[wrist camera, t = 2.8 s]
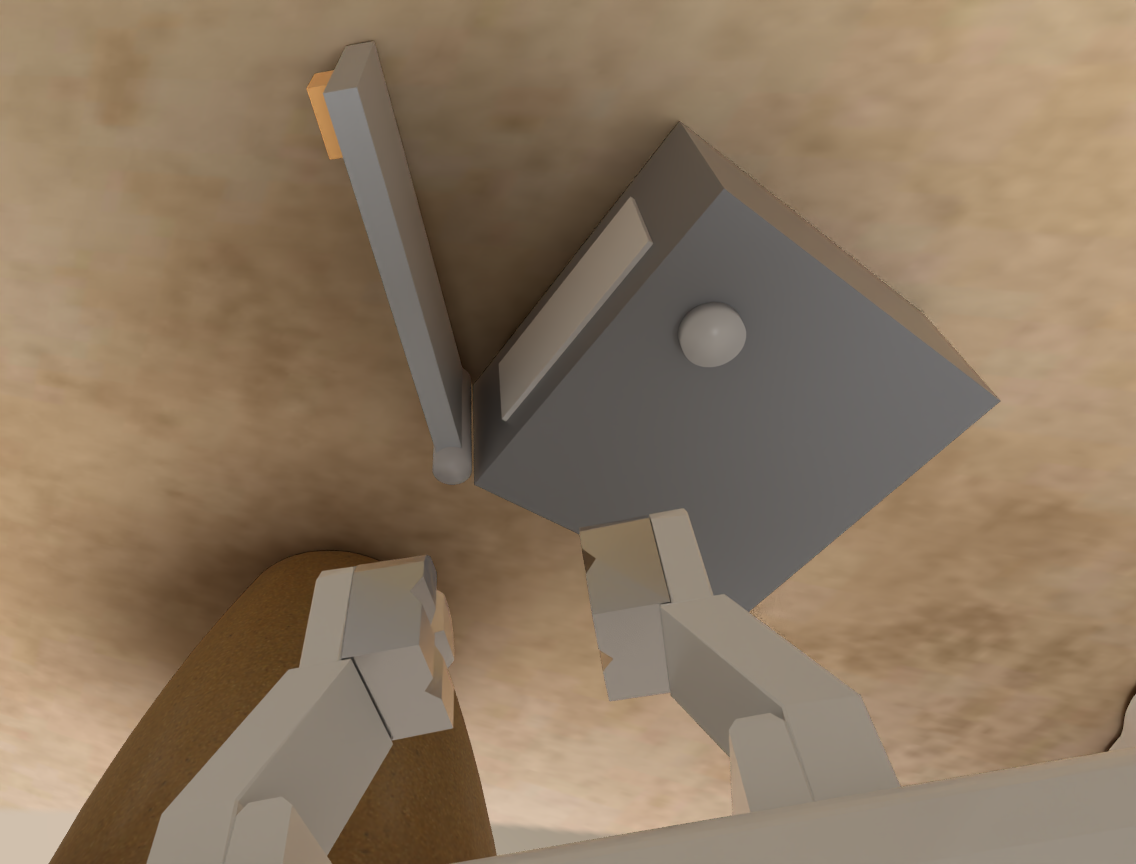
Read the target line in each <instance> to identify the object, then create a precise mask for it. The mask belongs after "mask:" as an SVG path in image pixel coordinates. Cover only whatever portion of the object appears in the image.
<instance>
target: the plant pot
mask: <svg viewBox="0 0 1136 864" xmlns="http://www.w3.org/2000/svg"><path fill="white" fill-rule="evenodd" d="M375 562H380V561H378V560H375V559H373V558H370V557H367V556H364V555H360V554H356V553H351V552H344V551H314V552H307V553H302V554H298V555H295V556H291V557H289V558H286V559H284V560H282V561H280V562H278V563H276V564H274V565H272V566H271V567H269V568H268V569H267V570H265V571H264V572H263V573H262V574H261V575H260V576H259V577H258V578H257V579H256V580H255V581H254V582H253V583H252V584H251V585H250V586H249V587H248V588H247V590H246V591H245V592H244V593H243V594H242V595H241V596H240V597H239V598H238V599H237V600H236V602H235V603H234V604H233V605H232V606H231V607H230V608H229V609H228V610H227V612H226V613H225V614H224V615H223V616H222V617H221V618H220V620H219V621H218V622H217V623H216V624H215V625H214V626H213V628H212V629H211V630H210V631H209V632H208V633H207V634H206V636H205V637H204V638H203V639H202V640H201V642H200V643H199V644H198V645H197V646H196V648H195V649H194V650H193V651H192V653H191V654H190V655H189V656H188V658H187V659H186V660H185V662H184V663H183V664H182V666H181V667H180V668H179V669H178V671H177V672H176V673H175V675H174V676H173V677H172V679H171V680H170V681H169V682H168V684H167V685H166V686H165V688H164V689H163V690H162V692H161V693H160V694H159V696H158V697H157V699H156V700H155V701H154V703H153V704H152V705H151V707H150V708H149V709H148V711H147V712H146V714H145V715H144V716H143V718H142V719H141V721H140V722H139V723H138V725H137V726H136V728H135V729H134V730H133V732H132V733H131V734H130V736H129V737H128V739H127V740H126V742H125V743H124V745H123V746H122V748H121V749H120V751H119V752H118V754H117V755H116V757H115V758H114V760H113V761H112V763H111V764H110V766H109V767H108V769H107V770H106V772H105V773H104V775H103V776H102V778H101V779H100V781H99V782H98V784H97V785H96V787H95V789H94V790H93V792H92V793H91V795H90V796H89V798H88V799H87V801H86V802H85V804H84V805H83V807H82V809H81V810H80V812H79V814H78V815H77V817H76V819H75V821H74V822H73V824H72V826H71V827H70V829H69V831H68V832H67V834H66V836H65V837H64V839H63V841H62V842H61V844H60V846H59V848H58V849H57V851H56V852H55V854H54V856H53V857H52V859H51V861H50V863H49V864H147V860H148V857H149V854H150V850H151V847H152V844H153V841H154V837H155V834H156V831H157V827H158V824H159V821H160V818H161V814H162V813H163V812H164V811H165V810H166V808H167V807H168V806H169V805H170V804H171V803H172V802H173V801H174V799H175V798H176V797H177V796H178V795H179V794H180V793H181V791H182V790H183V789H184V788H185V787H186V786H187V785H188V783H189V782H190V781H191V780H192V779H193V778H194V777H195V775H196V774H197V773H198V772H199V771H200V770H201V769H202V767H203V766H204V765H205V764H206V763H207V762H208V761H209V760H210V758H211V757H212V756H213V755H214V754H215V753H216V752H217V750H218V749H219V748H220V747H221V746H222V745H223V744H224V742H225V741H226V740H227V739H228V738H229V737H230V736H231V734H232V733H233V732H234V731H235V730H236V729H237V728H238V726H239V725H240V724H241V723H242V722H243V721H244V720H245V718H246V717H247V716H248V715H249V714H250V713H251V712H252V711H253V709H254V708H255V707H256V706H257V705H258V704H259V703H260V701H261V700H262V699H263V698H264V697H265V696H266V695H267V693H268V692H269V691H270V690H271V689H272V688H273V687H274V685H275V684H276V683H277V682H278V681H279V680H280V679H281V677H282V676H283V675H284V674H285V673H286V672H287V671H288V670H289V669H294V668H299V665H300V660H301V655H302V650H303V644H304V639H305V634H306V629H307V624H308V619H309V614H310V609H311V604H312V598H313V593H314V588H315V583H316V580H317V578H318V577H319V575H320V573H321V572H322V571H326V570H333V569H340V568H347V567H354V566H357V565H361V564H368V563H375ZM392 743H393V745H392V747H391V748H390V750H389V752H388V754H387V755H386V757H385V759H384V760H383V762H382V764H381V765H380V767H379V769H378V771H377V772H376V774H375V776H374V777H373V779H372V781H371V782H370V784H369V786H368V787H367V789H366V791H365V793H364V794H363V796H362V798H361V799H360V801H359V803H358V804H357V806H356V808H355V809H354V811H353V813H352V815H351V816H350V818H349V820H348V821H347V823H346V825H345V826H344V828H343V830H342V832H341V833H340V835H339V837H338V838H337V840H336V842H335V843H334V845H333V847H332V848H331V850H330V852H329V854H328V855H327V857H328V858H329V860H330V861H331V863H332V864H451V863H457V862H463V861H469V860H475V859H481V858H486V857H492V856H497V855H496V849H495V844H494V839H493V835H492V831H491V826H490V822H489V817H488V813H487V808H486V804H485V799H484V795H483V790H482V786H481V781H480V777H479V773H478V769H477V765H476V762H475V758H474V754H473V750H472V747H471V743H470V739H469V736H468V732H467V729H466V725H465V722H464V719H463V715H462V712H461V709H460V706H459V702H458V699H457V696H456V693H455V690H454V711H453V728H452V729H447V730H442V731H437V732H432V733H427V734H422V735H417V736H412V737H407V738H402V739H397V740H392Z"/></svg>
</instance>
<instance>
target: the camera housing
mask: <svg viewBox="0 0 1136 864" xmlns="http://www.w3.org/2000/svg"><path fill="white" fill-rule="evenodd" d="M999 402H1000V400H999V398H998V397H997V396H996V395H995V394H994V393H993V392H992V390H991V389H990V388H989V387H988V386H987V385H986V384H985V383H984V381H983V380H982V379H981V378H980V377H979V376H978V375H977V374H976V372H975V371H974V370H973V369H972V368H971V367H970V366H969V365H968V363H967V362H966V361H965V360H964V359H963V358H962V357H961V356H960V354H959V353H958V352H957V351H956V350H955V349H954V348H953V347H952V345H951V344H950V343H949V342H948V341H947V340H946V339H945V337H944V336H943V335H942V334H941V333H940V332H939V331H938V330H937V328H936V327H935V326H934V325H933V324H932V323H931V322H930V321H929V319H928V318H927V317H926V316H925V315H924V314H923V313H922V312H920V311H919V310H918V309H917V308H915V307H914V306H913V305H912V304H910V303H909V302H908V301H907V300H905V299H904V298H903V297H901V296H900V295H899V294H898V293H896V292H895V291H894V290H893V289H891V288H890V287H889V286H888V285H886V284H885V283H884V282H883V281H881V280H880V279H879V278H877V277H876V276H875V275H874V274H872V273H871V272H870V271H869V270H867V269H866V268H865V267H864V266H862V265H861V264H860V263H858V262H857V261H856V260H855V259H853V258H852V257H851V256H850V255H848V254H847V253H846V252H845V251H843V250H842V249H841V248H840V247H838V246H837V245H836V244H834V243H833V242H832V241H831V240H829V239H828V238H827V237H826V236H824V235H823V234H822V233H821V232H819V231H818V230H817V229H816V228H814V227H813V226H812V225H810V224H809V223H808V222H807V221H805V220H804V219H803V218H802V217H800V216H799V215H798V214H797V213H795V212H794V211H793V210H791V209H790V208H789V207H788V206H786V205H785V204H784V203H783V202H781V201H780V200H779V199H778V198H776V197H775V196H774V195H773V194H771V193H770V192H769V191H767V190H766V189H765V188H764V187H762V186H761V185H760V184H759V183H757V182H756V181H755V180H754V179H752V178H751V177H750V176H748V175H747V174H746V173H745V172H743V171H742V170H741V169H740V168H738V167H737V166H736V165H735V164H733V163H732V162H731V161H730V160H728V159H727V158H726V157H724V156H723V155H722V154H721V153H719V152H718V151H717V150H716V149H714V148H713V147H712V146H711V145H709V144H708V143H707V142H706V141H704V140H703V139H702V138H700V137H699V136H698V135H697V134H695V133H694V132H693V131H692V130H690V129H689V128H688V127H687V126H685V125H684V124H683V123H681V122H680V121H679V122H678V124H677V125H676V126H675V127H674V129H673V130H672V131H671V133H670V134H669V135H668V136H667V138H666V139H665V140H664V142H663V143H662V144H661V145H660V147H659V148H658V149H657V151H656V152H655V153H654V154H653V156H652V157H651V158H650V160H649V161H648V162H647V163H646V165H645V166H644V167H643V168H642V170H641V171H640V172H639V174H638V175H637V176H636V177H635V179H634V180H633V181H632V183H631V184H630V185H629V186H628V188H627V189H626V190H625V192H624V193H623V194H622V195H621V197H620V198H619V199H618V201H617V202H616V203H615V204H614V206H613V207H612V208H611V209H610V211H609V212H608V213H607V215H606V216H605V217H604V218H603V220H602V221H601V222H600V224H599V225H598V226H597V227H596V229H595V230H594V231H593V233H592V234H591V235H590V236H589V238H588V239H587V240H586V242H585V243H584V244H583V245H582V247H581V248H580V249H579V251H578V252H577V253H576V254H575V256H574V257H573V258H572V259H571V261H570V262H569V263H568V265H567V266H566V267H565V268H564V270H563V271H562V272H561V274H560V275H559V276H558V277H557V279H556V280H555V281H554V283H553V284H552V285H551V286H550V288H549V289H548V290H547V292H546V293H545V294H544V295H543V297H542V298H541V299H540V300H539V302H538V303H537V304H536V306H535V307H534V308H533V309H532V311H531V312H530V313H529V315H528V316H527V317H526V318H525V320H524V321H523V322H522V324H521V325H520V326H519V327H518V329H517V330H516V331H515V333H514V334H513V335H512V336H511V338H510V339H509V340H508V341H507V343H506V344H505V345H504V347H503V348H502V349H501V350H500V352H499V353H498V354H497V356H496V357H495V358H494V359H493V361H492V362H491V363H490V365H489V366H488V367H487V368H486V370H485V371H484V372H483V374H482V375H481V376H480V377H479V379H478V380H477V381H476V382H475V384H474V385H473V428H474V485H476V486H478V487H480V488H482V489H485V490H487V491H489V492H491V493H493V494H495V495H497V496H499V497H501V498H504V499H506V500H508V501H510V502H512V503H514V504H516V505H518V506H520V507H523V508H525V509H527V510H529V511H531V512H533V513H535V514H537V515H539V516H542V517H544V518H546V519H548V520H550V521H552V522H554V523H556V524H559V525H561V526H563V527H565V528H567V529H569V530H571V531H573V532H575V533H578V534H580V533H579V527H585V526H590V525H596V524H601V523H607V522H612V521H617V520H623V519H628V518H634V517H639V516H645V515H648V517H649V514H654V513H660V512H665V511H670V510H676V509H681V508H684V509H685V510H686V511H687V512H688V516H689V519H690V522H691V525H692V528H693V531H694V535H695V538H696V541H697V544H698V547H699V551H700V554H701V557H702V560H703V563H704V567H705V570H706V573H707V576H708V579H709V582H710V586H711V589H712V592H713V595H721V594H725V595H726V596H728V597H729V598H730V599H732V600H733V601H734V602H736V603H737V604H738V605H740V606H741V607H742V608H744V609H745V610H747V611H748V612H749V611H750V610H751V609H753V608H754V607H755V606H756V605H757V604H759V603H760V602H761V601H762V600H763V599H765V598H766V597H767V596H768V595H769V594H771V593H772V592H773V591H774V590H775V589H777V588H778V587H779V586H780V585H781V584H782V583H784V582H785V581H786V580H787V579H788V578H790V577H791V576H792V575H793V574H794V573H796V572H797V571H798V570H799V569H800V568H802V567H803V566H804V565H805V564H806V563H808V562H809V561H810V560H811V559H812V558H814V557H815V556H816V555H817V554H818V553H820V552H821V551H822V550H823V549H824V548H826V547H827V546H828V545H829V544H830V543H831V542H833V541H834V540H835V539H836V538H837V537H839V536H840V535H841V534H842V533H843V532H845V531H846V530H847V529H848V528H849V527H851V526H852V525H853V524H854V523H855V522H857V521H858V520H859V519H860V518H861V517H863V516H864V515H865V514H866V513H867V512H869V511H870V510H871V509H872V508H873V507H874V506H876V505H877V504H878V503H879V502H880V501H882V500H883V499H884V498H885V497H886V496H888V495H889V494H890V493H891V492H892V491H894V490H895V489H896V488H897V487H898V486H900V485H901V484H902V483H903V482H904V481H906V480H907V479H908V478H909V477H910V476H912V475H913V474H914V473H915V472H916V471H918V470H919V469H920V468H921V467H922V466H923V465H925V464H926V463H927V462H928V461H929V460H931V459H932V458H933V457H934V456H935V455H937V454H938V453H939V452H940V451H941V450H943V449H944V448H945V447H946V446H947V445H949V444H950V443H951V442H952V441H953V440H955V439H956V438H957V437H958V436H959V435H961V434H962V433H963V432H964V431H965V430H967V429H968V428H969V427H970V426H971V425H972V424H974V423H975V422H976V421H977V420H978V419H980V418H981V417H982V416H983V415H984V414H986V413H987V412H988V411H989V410H990V409H992V408H993V407H994V406H995V405H996V404H998V403H999Z"/></svg>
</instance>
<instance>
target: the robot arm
mask: <svg viewBox="0 0 1136 864" xmlns="http://www.w3.org/2000/svg"><path fill="white" fill-rule="evenodd" d="M579 533H580V540H581V547H582V553H583V559H584V564H585V570H586V580H587V586H588V592H589V598H590V604H591V610H592V616H593V622H594V627H595V632H596V638H597V643H598V649H599V650H600V656H601V663H602V669H603V674H604V679H605V683H606V688H607V693H608V697H609V701H616V700H623V699H629V698H636V697H643V696H650V695H657V694H664V693H671V696H672V697H673V698H674V699H675V700H676V701H677V702H678V704H679V705H680V706H681V707H682V708H683V709H684V710H685V711H686V712H687V713H688V714H689V715H690V716H691V717H692V718H693V719H694V720H695V721H696V722H697V724H698V725H699V726H700V727H701V728H702V729H703V730H704V731H705V732H706V733H707V734H708V735H709V736H710V737H711V738H712V739H713V740H714V741H715V742H716V743H717V745H718V746H719V747H720V748H721V749H722V750H723V751H724V752H725V753H726V754H727V755H728V756H729V757H730V771H731V795H732V816H727V817H721V818H715V819H709V820H703V821H698V822H692V823H686V824H680V825H674V826H668V827H662V828H657V829H651V830H645V831H639V832H633V833H627V834H621V835H615V836H610V837H604V838H598V839H592V840H586V841H580V842H574V843H569V844H563V845H557V846H551V847H545V848H539V849H533V850H528V851H522V852H516V853H510V854H504V855H498V856H492V857H486V858H481V859H475V860H469V861H463V862H457V863H451V864H1136V694H1135V695H1134V697H1133V699H1132V700H1131V702H1130V704H1129V706H1128V708H1127V711H1126V714H1125V718H1124V726H1123V731H1122V734H1121V736H1120V737H1119V738H1118V740H1117V741H1116V742H1115V743H1114V744H1113V746H1112V747H1111V748H1110V749H1109V751H1107V752H1102V753H1096V754H1090V755H1084V756H1078V757H1072V758H1067V759H1061V760H1055V761H1049V762H1043V763H1037V764H1031V765H1026V766H1020V767H1014V768H1008V769H1002V770H996V771H991V772H985V773H979V774H973V775H967V776H961V777H955V778H950V779H944V780H938V781H932V782H926V783H920V784H914V785H909V786H903V787H901V786H900V784H899V781H898V779H897V777H896V775H895V772H894V770H893V768H892V766H891V763H890V761H889V759H888V756H887V754H886V752H885V750H884V747H883V745H882V743H881V741H880V738H879V736H878V734H877V731H876V729H875V727H874V725H873V722H872V720H871V718H870V716H869V713H868V711H867V709H866V706H865V704H864V702H863V700H862V697H861V695H860V694H858V693H857V692H855V691H854V690H853V689H851V688H850V687H849V686H847V685H846V684H845V683H843V682H842V681H841V680H839V679H838V678H837V677H835V676H834V675H833V674H831V673H830V672H829V671H827V670H826V669H825V668H823V667H822V666H821V665H819V664H818V663H816V662H815V661H814V660H812V659H811V658H810V657H808V656H807V655H806V654H804V653H803V652H802V651H800V650H799V649H798V648H796V647H795V646H794V645H792V644H791V643H790V642H788V641H787V640H786V639H784V638H783V637H781V636H780V635H779V634H777V633H776V632H775V631H773V630H772V629H771V628H769V627H768V626H767V625H765V624H764V623H763V622H761V621H760V620H759V619H757V618H756V617H755V616H753V615H752V614H751V613H749V612H748V611H747V610H745V609H744V608H742V607H741V606H740V605H738V604H737V603H736V602H734V601H733V600H732V599H730V598H729V597H728V596H726V595H725V594H721V595H713V592H712V589H711V586H710V582H709V579H708V576H707V573H706V570H705V567H704V563H703V560H702V557H701V554H700V551H699V547H698V544H697V541H696V538H695V535H694V531H693V528H692V525H691V522H690V519H689V516H688V512H687V511H686V510H685V509H684V508H681V509H676V510H670V511H665V512H660V513H654V514H649V517H648V515H645V516H639V517H634V518H628V519H623V520H617V521H612V522H607V523H601V524H596V525H590V526H585V527H579ZM436 588H437V572H436V569H435V567H434V564H433V562H432V559H431V557H430V556H428V555H421V556H415V557H408V558H401V559H395V560H388V561H381V562H375V563H368V564H361V565H357V566H354V567H347V568H340V569H333V570H326V571H322V572H321V573H320V575H319V577H318V578H317V580H316V583H315V588H314V593H313V598H312V604H311V609H310V614H309V619H308V624H307V629H306V634H305V639H304V644H303V650H302V655H301V660H300V665H299V668H294V669H289V670H288V671H287V672H286V673H285V674H284V675H283V676H282V677H281V679H280V680H279V681H278V682H277V683H276V684H275V685H274V687H273V688H272V689H271V690H270V691H269V692H268V693H267V695H266V696H265V697H264V698H263V699H262V700H261V701H260V703H259V704H258V705H257V706H256V707H255V708H254V709H253V711H252V712H251V713H250V714H249V715H248V716H247V717H246V718H245V720H244V721H243V722H242V723H241V724H240V725H239V726H238V728H237V729H236V730H235V731H234V732H233V733H232V734H231V736H230V737H229V738H228V739H227V740H226V741H225V742H224V744H223V745H222V746H221V747H220V748H219V749H218V750H217V752H216V753H215V754H214V755H213V756H212V757H211V758H210V760H209V761H208V762H207V763H206V764H205V765H204V766H203V767H202V769H201V770H200V771H199V772H198V773H197V774H196V775H195V777H194V778H193V779H192V780H191V781H190V782H189V783H188V785H187V786H186V787H185V788H184V789H183V790H182V791H181V793H180V794H179V795H178V796H177V797H176V798H175V799H174V801H173V802H172V803H171V804H170V805H169V806H168V807H167V808H166V810H165V811H164V812H163V813H162V814H161V818H160V821H159V824H158V827H157V831H156V834H155V837H154V841H153V844H152V847H151V850H150V854H149V857H148V860H147V864H332V863H331V861H330V860H329V858H328V857H327V855H328V854H329V852H330V850H331V848H332V847H333V845H334V843H335V842H336V840H337V838H338V837H339V835H340V833H341V832H342V830H343V828H344V826H345V825H346V823H347V821H348V820H349V818H350V816H351V815H352V813H353V811H354V809H355V808H356V806H357V804H358V803H359V801H360V799H361V798H362V796H363V794H364V793H365V791H366V789H367V787H368V786H369V784H370V782H371V781H372V779H373V777H374V776H375V774H376V772H377V771H378V769H379V767H380V765H381V764H382V762H383V760H384V759H385V757H386V755H387V754H388V752H389V750H390V748H391V747H392V745H393V743H392V740H397V739H402V738H407V737H412V736H417V735H422V734H427V733H432V732H437V731H442V730H447V729H452V728H453V711H454V685H453V682H452V680H451V677H450V674H449V672H448V667H449V666H450V665H451V663H452V662H453V660H454V634H453V625H452V619H451V614H450V610H449V606H448V603H447V600H446V597H445V594H443V593H442V592H440V591H438V590H437V589H436Z"/></svg>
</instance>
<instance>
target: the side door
mask: <svg viewBox="0 0 1136 864" xmlns="http://www.w3.org/2000/svg"><path fill="white" fill-rule="evenodd" d="M306 89H307V92H308V95H309V98H310V101H311V104H312V107H313V110H314V113H315V116H316V119H317V122H318V126H319V129H320V132H321V135H322V138H323V141H324V144H325V147H326V150H327V153H328V156H329V159H330V160H332V159H337V158H343V159H344V162H345V165H346V168H347V172H348V175H349V178H350V181H351V184H352V187H353V191H354V194H355V197H356V200H357V203H358V206H359V210H360V213H361V216H362V219H363V222H364V225H365V229H366V232H367V235H368V238H369V241H370V244H371V248H372V251H373V254H374V257H375V260H376V263H377V267H378V270H379V273H380V276H381V279H382V282H383V286H384V289H385V292H386V295H387V298H388V301H389V305H390V308H391V311H392V314H393V317H394V320H395V324H396V327H397V330H398V333H399V336H400V339H401V343H402V346H403V349H404V352H405V355H406V358H407V362H408V365H409V368H410V371H411V374H412V377H413V381H414V384H415V387H416V390H417V393H418V396H419V400H420V403H421V406H422V409H423V412H424V415H425V419H426V422H427V425H428V428H429V431H430V434H431V438H432V441H433V444H434V452H433V474H434V476H435V478H436V479H437V480H439V481H440V482H442V483H444V484H449V485H455V484H460V483H462V482H464V481H466V480H467V479H468V478H469V477H470V475H471V472H472V440H471V377H470V375H469V373H468V372H467V371H466V370H465V369H463V368H462V365H461V361H460V358H459V354H458V350H457V347H456V343H455V339H454V335H453V332H452V328H451V324H450V320H449V317H448V313H447V309H446V306H445V302H444V298H443V294H442V291H441V287H440V283H439V280H438V276H437V272H436V268H435V265H434V261H433V257H432V254H431V250H430V246H429V242H428V239H427V235H426V231H425V227H424V224H423V220H422V216H421V213H420V209H419V205H418V201H417V198H416V194H415V190H414V187H413V183H412V179H411V175H410V172H409V168H408V164H407V161H406V157H405V153H404V149H403V146H402V142H401V138H400V134H399V131H398V127H397V123H396V120H395V116H394V112H393V108H392V105H391V101H390V97H389V94H388V90H387V86H386V82H385V79H384V75H383V71H382V67H381V64H380V60H379V56H378V53H377V49H376V45H375V41H371V42H365V43H360V44H354V45H349V46H345V48H344V51H343V53H342V55H341V57H340V59H339V61H338V63H337V65H336V67H335V69H334V70H332V71H326V72H321V73H315V74H314V76H313V77H312V79H311V81H310V83H309V85H308V87H307V88H306Z"/></svg>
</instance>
